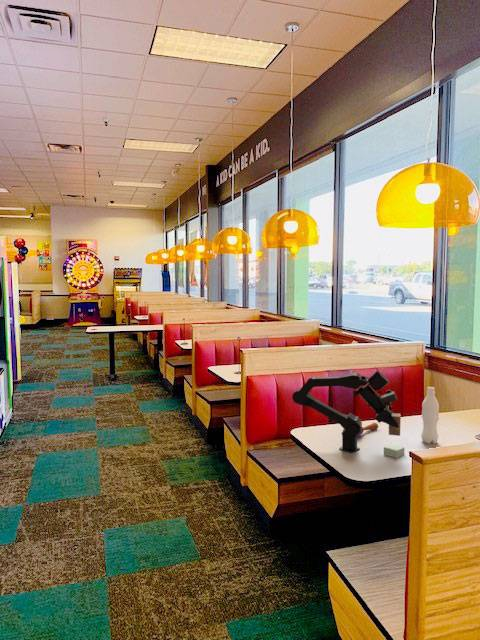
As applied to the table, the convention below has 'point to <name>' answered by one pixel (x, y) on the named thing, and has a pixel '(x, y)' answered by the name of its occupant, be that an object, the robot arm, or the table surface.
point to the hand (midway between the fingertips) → (398, 425)
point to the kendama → (368, 428)
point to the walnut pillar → (393, 429)
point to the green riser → (394, 450)
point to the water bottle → (430, 417)
